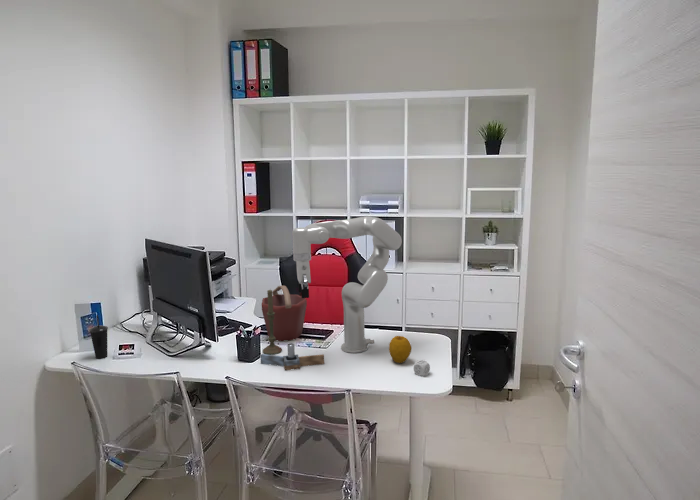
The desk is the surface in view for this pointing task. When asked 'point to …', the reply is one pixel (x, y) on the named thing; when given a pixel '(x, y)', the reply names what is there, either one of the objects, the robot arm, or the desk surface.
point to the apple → (399, 349)
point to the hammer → (292, 361)
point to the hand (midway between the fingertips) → (303, 294)
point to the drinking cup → (99, 340)
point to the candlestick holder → (271, 329)
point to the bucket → (285, 314)
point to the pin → (291, 351)
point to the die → (421, 367)
